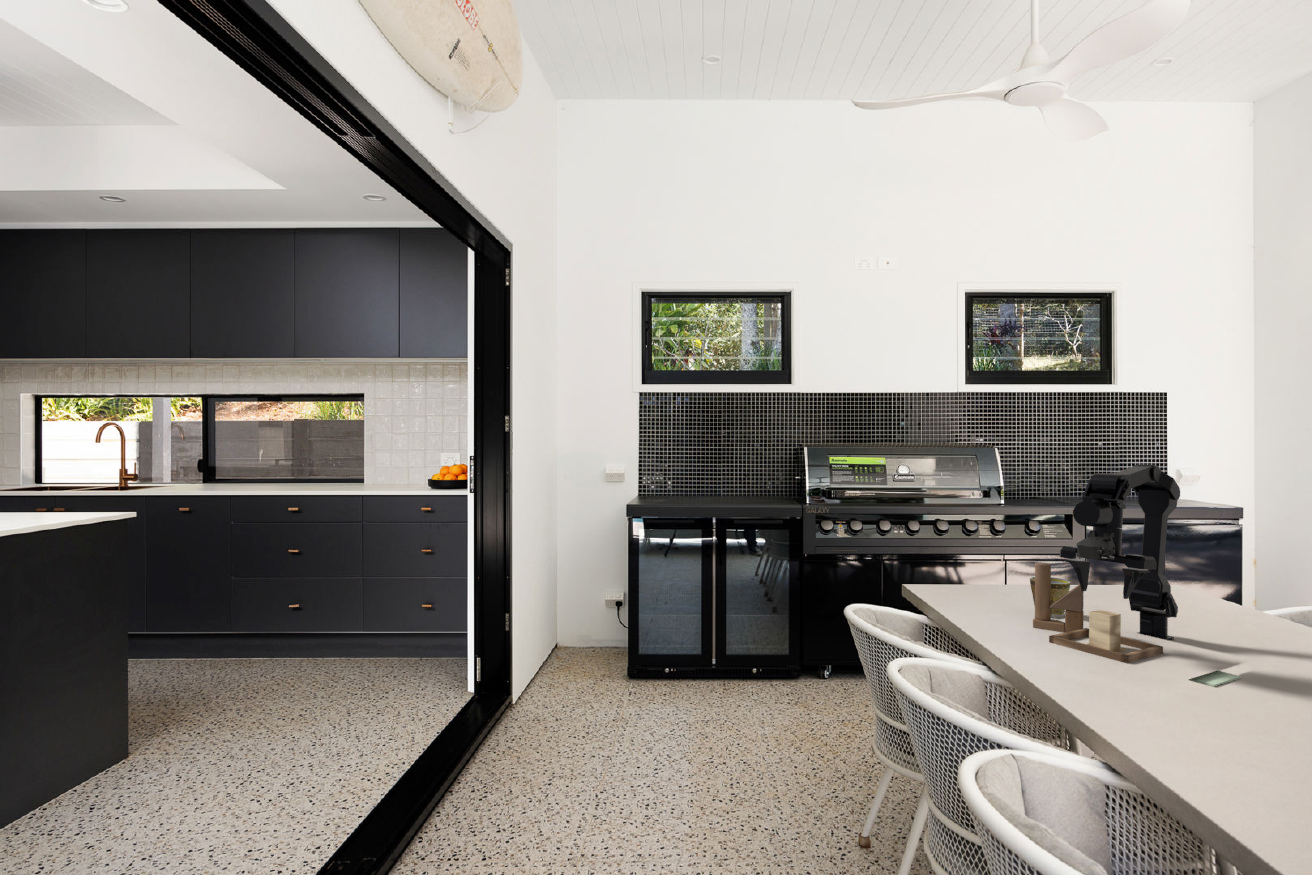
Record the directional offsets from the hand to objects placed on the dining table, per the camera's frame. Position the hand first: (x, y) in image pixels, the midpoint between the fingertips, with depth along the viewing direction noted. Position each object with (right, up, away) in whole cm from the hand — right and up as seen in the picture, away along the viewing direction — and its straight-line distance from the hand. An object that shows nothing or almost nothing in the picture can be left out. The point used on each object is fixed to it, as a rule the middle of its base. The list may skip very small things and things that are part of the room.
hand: (1104, 594), depth 160 cm
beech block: (0, -12, 0) cm, 12 cm away
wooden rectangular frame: (0, -14, 0) cm, 14 cm away
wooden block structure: (-2, -14, +15) cm, 20 cm away
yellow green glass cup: (+8, -14, +37) cm, 40 cm away
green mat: (+11, -14, -14) cm, 22 cm away
